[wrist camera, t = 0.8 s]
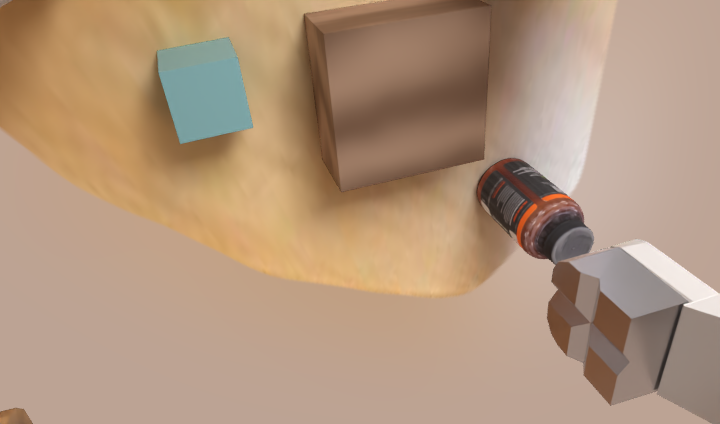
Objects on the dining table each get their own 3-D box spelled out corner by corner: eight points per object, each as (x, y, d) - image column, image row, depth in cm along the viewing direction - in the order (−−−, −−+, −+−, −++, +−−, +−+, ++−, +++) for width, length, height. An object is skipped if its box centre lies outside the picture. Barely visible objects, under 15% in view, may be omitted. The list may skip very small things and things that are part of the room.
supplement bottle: (472, 215, 57) (535, 285, 47) (476, 161, 53) (545, 225, 44) (526, 203, 58) (597, 269, 49) (533, 150, 55) (611, 210, 46)
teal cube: (157, 50, 40) (158, 72, 36) (228, 37, 41) (237, 57, 37) (176, 116, 43) (180, 143, 39) (243, 102, 44) (253, 127, 40)
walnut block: (302, 12, 42) (323, 33, 37) (453, -11, 44) (491, 5, 40) (321, 158, 49) (341, 192, 44) (451, 130, 51) (484, 159, 46)
